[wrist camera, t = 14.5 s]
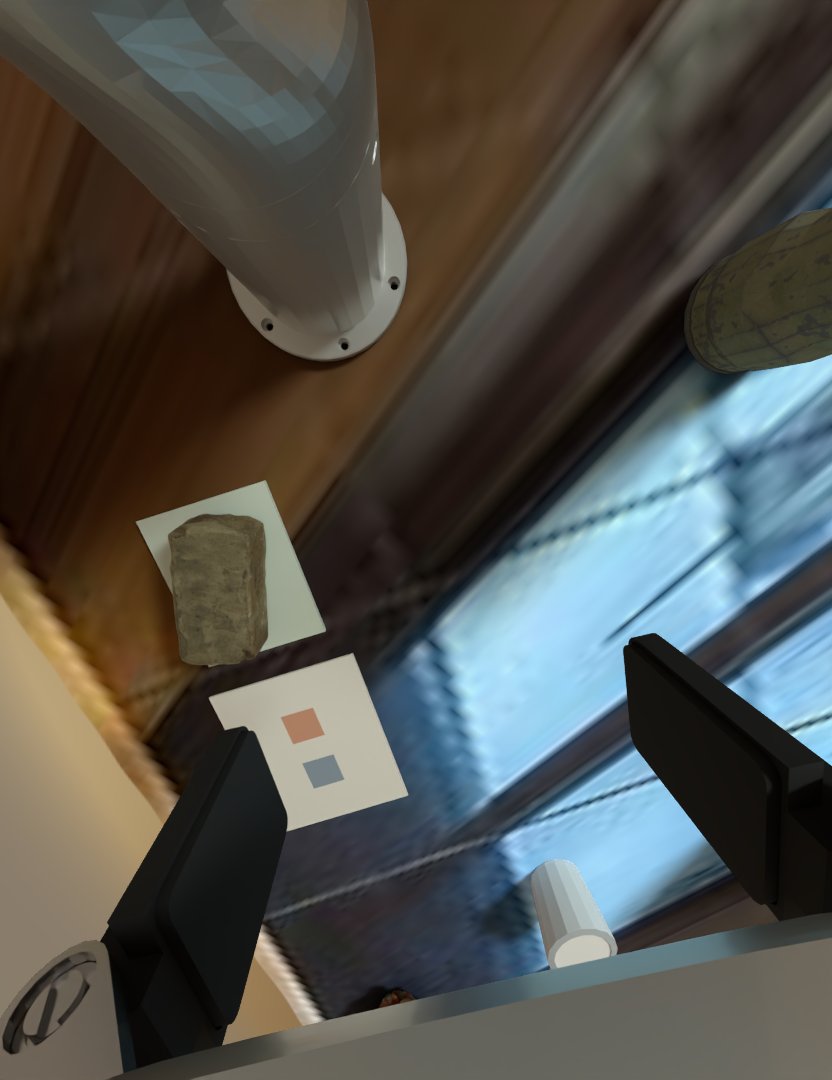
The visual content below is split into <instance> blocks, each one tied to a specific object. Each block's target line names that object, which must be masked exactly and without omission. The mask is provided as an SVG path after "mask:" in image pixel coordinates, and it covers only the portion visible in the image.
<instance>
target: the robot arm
mask: <svg viewBox="0 0 832 1080" xmlns="http://www.w3.org/2000/svg"><path fill="white" fill-rule="evenodd" d="M0 56H1V57H2V58H4V59H5V60H6V61H8V62H9V63H10V64H12V65H13V66H14V67H16V68H17V69H18V70H19V71H21V72H22V73H23V74H24V75H25V76H27V77H28V78H29V79H30V80H32V81H33V82H34V83H35V84H37V85H38V86H39V87H40V88H41V89H43V90H44V91H45V92H46V93H48V94H49V95H50V96H51V97H52V98H53V99H54V100H55V101H57V102H58V103H59V104H60V105H61V106H62V107H63V108H64V109H66V110H67V111H68V112H69V113H70V114H71V115H72V116H73V117H75V118H76V119H77V120H78V121H79V122H80V123H81V124H82V125H83V126H84V127H85V128H86V129H87V130H89V131H90V132H91V133H92V134H93V135H94V136H95V137H96V138H97V139H98V140H99V141H100V142H101V143H102V144H103V145H104V146H105V147H106V148H107V149H108V150H109V151H110V152H111V153H112V154H114V155H115V156H116V157H117V158H118V159H119V160H120V161H121V162H122V163H123V164H124V165H125V166H126V167H127V168H128V169H129V170H130V171H131V172H132V173H133V174H134V175H135V176H136V177H137V178H138V179H139V180H140V181H141V182H142V183H143V184H144V185H145V186H146V187H147V188H148V189H149V191H150V192H151V193H152V194H153V195H154V196H155V197H156V198H157V199H158V200H159V201H160V202H161V203H162V204H163V205H164V206H165V207H166V208H167V209H168V210H169V211H170V212H171V213H172V214H173V215H174V216H175V217H176V218H177V219H178V220H179V221H180V222H181V223H182V224H183V225H184V226H185V227H186V228H187V229H188V230H189V231H190V232H191V233H192V234H193V235H194V236H195V237H196V238H197V239H198V240H199V241H200V242H201V243H202V244H203V245H204V246H205V247H206V248H207V249H208V250H209V251H210V252H211V253H212V254H213V255H214V256H215V257H216V258H217V260H218V261H219V262H220V263H221V264H222V265H223V266H224V267H225V268H226V272H227V275H228V279H229V282H230V285H231V289H232V292H233V294H234V296H235V298H236V300H237V302H238V304H239V306H240V308H241V310H242V311H243V313H244V314H245V316H246V317H247V318H248V320H249V321H250V323H251V324H252V325H253V326H254V327H255V328H256V329H257V330H258V331H259V332H260V333H261V334H262V335H263V336H264V337H265V338H266V339H267V340H269V341H270V342H271V343H273V344H274V345H275V346H277V347H279V348H280V349H282V350H284V351H285V352H287V353H289V354H291V355H294V356H297V357H300V358H303V359H306V360H312V361H319V362H327V361H339V360H342V359H346V358H350V357H353V356H355V355H357V354H359V353H361V352H363V351H365V350H367V349H368V348H369V347H370V346H372V345H373V344H374V343H375V342H377V341H378V340H379V339H380V338H381V337H382V336H383V334H384V333H385V332H386V331H387V330H388V328H389V327H390V326H391V324H392V322H393V320H394V318H395V317H396V315H397V313H398V311H399V308H400V305H401V302H402V299H403V296H404V291H405V285H406V278H407V256H406V246H405V241H404V237H403V233H402V230H401V226H400V223H399V221H398V219H397V217H396V215H395V212H394V210H393V208H392V206H391V205H390V203H389V202H388V200H387V199H386V197H385V196H384V194H383V193H382V191H381V171H380V152H379V132H378V113H377V93H376V76H375V61H374V47H373V36H372V29H371V22H370V15H369V9H368V3H367V0H0ZM393 284H395V285H397V287H398V288H397V289H396V290H392V289H391V285H393ZM269 325H273V330H271V331H269V330H268V326H269ZM343 344H348V349H346V350H343V349H342V345H343ZM623 654H624V665H625V676H626V687H627V698H628V710H629V721H630V732H631V737H632V740H633V743H634V745H635V747H636V749H637V750H638V752H639V753H640V754H641V756H642V757H643V758H644V759H645V761H646V762H647V763H648V765H649V766H650V767H651V768H652V770H653V771H654V772H655V774H656V775H657V776H658V778H659V779H660V780H661V781H662V783H663V784H664V785H665V787H666V788H667V789H668V790H669V792H670V793H671V794H672V796H673V797H674V798H675V800H676V801H677V802H678V803H679V805H680V806H681V807H682V809H683V810H684V811H685V812H686V814H687V815H688V816H689V818H690V819H691V820H692V822H693V823H694V824H695V825H696V827H697V828H698V829H699V831H700V832H701V833H702V834H703V836H704V837H705V838H706V840H707V841H708V842H709V844H710V845H711V846H712V847H713V849H714V850H715V851H716V853H717V854H718V855H719V856H720V858H721V859H722V860H723V862H724V863H725V864H726V866H727V867H728V868H729V869H730V871H731V872H732V873H733V875H734V876H735V877H736V878H737V880H738V881H739V882H740V884H741V885H742V886H743V888H744V889H745V890H746V891H747V893H748V894H749V895H750V896H751V897H752V899H753V900H754V901H756V902H757V903H758V904H760V905H763V904H766V905H767V906H768V907H769V909H770V910H771V911H772V912H773V914H774V915H775V916H776V918H777V919H778V920H779V921H778V922H773V923H768V924H763V925H758V926H753V927H747V928H742V929H737V930H732V931H727V932H722V933H717V934H712V935H707V936H703V937H698V938H694V939H689V940H684V941H680V942H675V943H671V944H666V945H661V946H657V947H652V948H648V949H643V950H638V951H634V952H629V953H625V954H620V955H615V956H611V957H606V958H602V959H597V960H593V961H588V962H583V963H579V964H574V965H570V966H565V967H561V968H556V969H552V970H547V971H543V972H538V973H534V974H529V975H525V976H520V977H516V978H511V979H507V980H503V981H498V982H494V983H489V984H485V985H480V986H476V987H471V988H467V989H463V990H458V991H454V992H449V993H445V994H440V995H436V996H432V997H427V998H423V999H418V1000H414V1001H409V1002H405V1003H401V1004H396V1005H392V1006H388V1007H383V1008H379V1009H375V1010H370V1011H366V1012H362V1013H357V1014H353V1015H349V1016H344V1017H340V1018H336V1019H331V1020H327V1021H323V1022H319V1023H314V1024H310V1025H306V1026H301V1027H297V1028H293V1029H288V1030H284V1031H280V1032H275V1033H271V1034H267V1035H262V1036H258V1037H255V1038H250V1039H246V1040H242V1041H238V1042H235V1043H231V1044H227V1045H223V1046H222V1044H223V1040H224V1037H225V1033H226V1029H227V1026H228V1025H229V1024H232V1023H233V1022H234V1020H235V1018H236V1016H237V1014H238V1011H239V1007H240V1004H241V1000H242V997H243V993H244V989H245V985H246V981H247V978H248V974H249V970H250V966H251V963H252V959H253V955H254V952H255V948H256V944H257V940H258V937H259V933H260V929H261V925H262V922H263V918H264V914H265V910H266V907H267V903H268V899H269V895H270V892H271V888H272V884H273V880H274V877H275V873H276V869H277V865H278V862H279V858H280V854H281V850H282V847H283V843H284V839H285V835H286V832H287V826H288V817H287V812H286V809H285V807H284V804H283V802H282V799H281V796H280V794H279V791H278V789H277V786H276V784H275V781H274V779H273V776H272V774H271V771H270V768H269V766H268V763H267V761H266V758H265V756H264V753H263V751H262V748H261V746H260V743H259V740H258V738H257V735H256V733H255V732H254V731H252V730H251V731H249V730H248V728H246V727H245V726H240V727H236V728H232V729H227V730H223V731H220V732H219V733H218V734H217V735H216V737H215V739H214V740H213V742H212V744H211V745H210V747H209V749H208V751H207V752H206V754H205V756H204V757H203V759H202V761H201V763H200V764H199V766H198V768H197V769H196V771H195V773H194V775H193V776H192V778H191V780H190V781H189V783H188V785H187V787H186V788H185V790H184V792H183V793H182V795H181V797H180V798H179V800H178V802H177V804H176V805H175V807H174V809H173V810H172V812H171V814H170V816H169V817H168V819H167V821H166V822H165V824H164V826H163V828H162V829H161V831H160V833H159V834H158V836H157V838H156V840H155V841H154V843H153V845H152V846H151V848H150V850H149V852H148V853H147V855H146V857H145V858H144V860H143V862H142V864H141V865H140V867H139V869H138V871H137V872H136V874H135V875H134V877H133V879H132V881H131V883H130V884H129V886H128V887H127V889H126V891H125V893H124V894H123V896H122V898H121V899H120V901H119V903H118V905H117V906H116V908H115V910H114V912H113V913H112V915H111V917H110V919H109V920H108V922H107V923H108V925H109V927H108V929H107V930H106V932H105V934H104V936H103V937H102V939H101V941H100V942H99V941H97V940H93V941H85V942H82V943H80V944H77V945H75V946H73V947H70V948H68V949H67V950H66V951H64V952H63V953H61V954H60V955H58V956H57V957H55V958H54V959H52V960H51V961H50V962H49V963H48V964H46V965H45V966H44V967H43V968H42V969H41V970H40V971H39V972H38V973H36V974H35V975H34V976H33V977H32V978H31V979H30V981H29V982H28V983H27V984H26V985H25V986H24V987H23V988H22V989H21V991H19V993H18V994H17V995H16V997H15V998H14V999H13V1001H12V1002H11V1004H10V1005H9V1006H8V1008H7V1009H6V1010H5V1012H4V1013H3V1015H2V1017H1V1019H0V1080H832V766H831V765H830V764H828V763H827V762H826V761H824V760H823V759H822V758H820V757H819V756H818V755H816V754H815V753H814V752H812V751H811V750H810V749H809V748H807V747H806V746H805V745H803V744H802V743H801V742H799V741H798V740H797V739H795V738H794V737H793V736H791V735H790V734H789V733H787V732H786V731H785V730H783V729H782V728H781V727H779V726H778V725H777V724H776V723H774V722H773V721H772V720H770V719H769V718H768V717H766V716H765V715H764V714H762V713H761V712H760V711H758V710H757V709H756V708H754V707H753V706H752V705H750V704H749V703H748V702H746V701H745V700H744V699H742V698H741V697H740V696H739V695H737V694H736V693H735V692H733V691H732V690H731V689H729V688H728V687H727V686H725V685H724V684H722V683H721V682H720V681H719V680H717V679H716V678H715V677H713V676H712V675H711V674H709V673H708V672H707V671H705V670H704V669H703V668H701V667H700V666H699V665H697V664H696V663H695V662H693V661H692V660H691V659H689V658H688V657H687V656H686V655H684V654H683V653H682V652H680V651H679V650H678V649H676V648H675V647H674V646H672V645H671V644H670V643H668V642H667V641H666V640H664V639H663V638H662V637H660V636H659V635H657V634H656V633H651V634H647V635H642V636H638V637H633V638H631V639H630V640H629V645H626V646H624V648H623Z"/></svg>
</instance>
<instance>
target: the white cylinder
mask: <svg viewBox="0 0 832 1080" xmlns="http://www.w3.org/2000/svg"><path fill="white" fill-rule="evenodd" d="M530 884H531V888H532V893H533V897H534V902H535V906H536V911H537V916H538V920H539V925H540V929H541V934H542V938H543V943H544V947H545V952H546V956H547V961H548V963H549V966H550V968H551V970H552V969H556V968H561V967H565V966H570V965H574V964H579V963H583V962H588V961H593V960H597V959H602V958H606V957H611V956H615V955H616V953H617V949H618V948H617V945H616V942H615V939H614V937H613V935H612V933H611V931H610V929H609V928H608V926H607V924H606V922H605V920H604V918H603V916H602V914H601V912H600V910H599V908H598V907H597V905H596V903H595V901H594V899H593V897H592V895H591V893H590V891H589V889H588V887H587V885H586V884H585V882H584V880H583V878H582V876H581V874H580V872H579V870H578V868H577V867H576V866H575V865H574V864H573V863H572V862H570V861H567V860H564V859H553V860H550V861H547V862H544V863H543V864H541V865H540V866H538V867H537V868H536V869H535V870H534V872H533V873H532V875H531V880H530Z"/></svg>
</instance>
